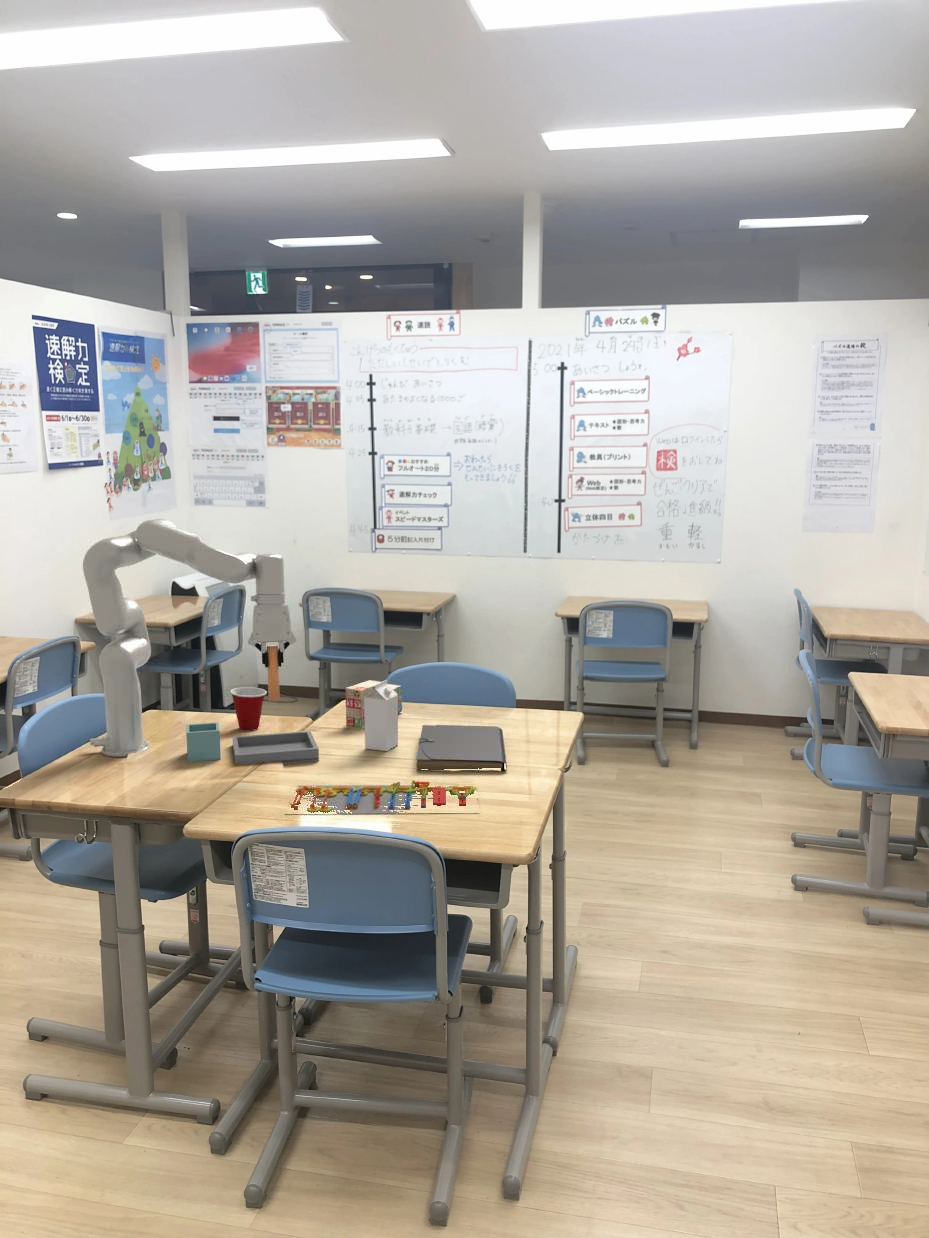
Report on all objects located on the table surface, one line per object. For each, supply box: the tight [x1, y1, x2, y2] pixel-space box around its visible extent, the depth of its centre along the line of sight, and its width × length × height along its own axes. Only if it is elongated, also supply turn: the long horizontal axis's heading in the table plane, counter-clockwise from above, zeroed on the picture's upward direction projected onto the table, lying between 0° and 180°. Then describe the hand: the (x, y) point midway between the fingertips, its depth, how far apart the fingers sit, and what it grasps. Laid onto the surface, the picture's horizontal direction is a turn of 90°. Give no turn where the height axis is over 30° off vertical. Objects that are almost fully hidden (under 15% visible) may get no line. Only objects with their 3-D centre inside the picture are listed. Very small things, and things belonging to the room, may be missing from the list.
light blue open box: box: [185, 721, 222, 763], centre depth 251 cm, size 9×9×9 cm
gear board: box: [289, 780, 478, 815], centre depth 222 cm, size 45×2×19 cm
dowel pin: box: [266, 644, 281, 702], centre depth 252 cm, size 3×3×15 cm
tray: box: [231, 730, 320, 766], centre depth 256 cm, size 22×18×4 cm
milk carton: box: [364, 679, 399, 752], centre depth 262 cm, size 7×7×19 cm
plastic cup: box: [230, 686, 267, 731], centre depth 281 cm, size 11×11×12 cm
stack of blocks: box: [345, 679, 403, 729], centre depth 292 cm, size 21×6×12 cm, turn 148°
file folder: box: [416, 724, 508, 771], centre depth 259 cm, size 33×4×24 cm
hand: (273, 665), depth 252 cm, fingers closed on dowel pin, 3 cm apart
